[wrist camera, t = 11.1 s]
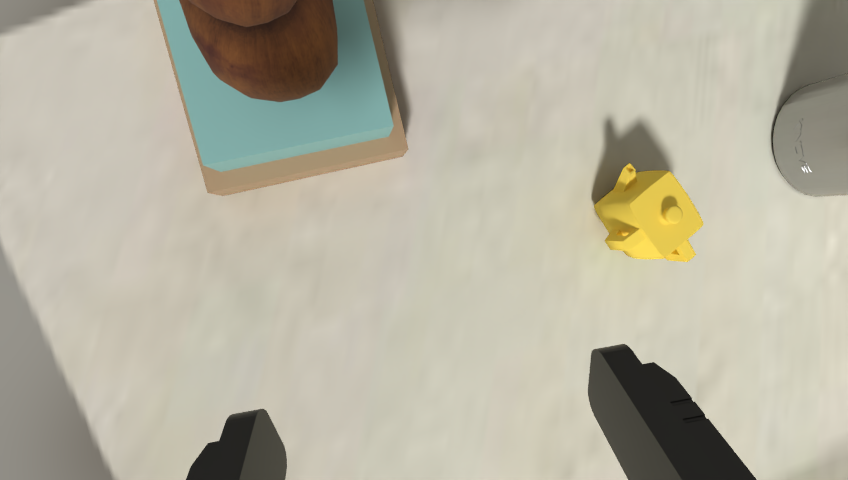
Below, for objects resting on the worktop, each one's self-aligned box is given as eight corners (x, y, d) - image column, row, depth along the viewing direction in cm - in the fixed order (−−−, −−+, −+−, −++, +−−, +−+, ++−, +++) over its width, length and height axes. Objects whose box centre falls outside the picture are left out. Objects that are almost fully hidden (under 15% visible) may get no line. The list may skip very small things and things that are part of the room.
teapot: (559, 199, 31) (599, 195, 26) (616, 153, 32) (666, 140, 27) (617, 282, 33) (666, 294, 27) (671, 236, 33) (729, 239, 28)
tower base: (360, -22, 28) (362, -86, 22) (402, 156, 29) (415, 140, 23) (170, 7, 26) (118, -55, 20) (223, 195, 27) (187, 188, 22)
